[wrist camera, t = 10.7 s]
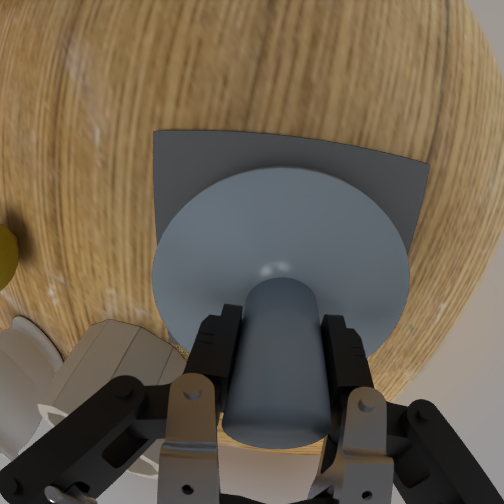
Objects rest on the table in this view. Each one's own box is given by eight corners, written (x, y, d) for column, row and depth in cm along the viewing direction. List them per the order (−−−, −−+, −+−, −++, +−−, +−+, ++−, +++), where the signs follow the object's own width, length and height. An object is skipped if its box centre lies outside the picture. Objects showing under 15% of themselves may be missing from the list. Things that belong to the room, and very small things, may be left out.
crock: (73, 309, 19) (15, 383, 11) (190, 336, 19) (149, 447, 11) (106, 384, 24) (73, 448, 16) (199, 409, 24) (179, 487, 16)
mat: (158, 130, 12) (153, 131, 12) (424, 162, 12) (430, 164, 11) (172, 336, 19) (170, 342, 18) (361, 356, 18) (362, 362, 18)
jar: (86, 379, 25) (34, 479, 11) (41, 369, 26) (-6, 445, 13) (35, 306, 20) (-47, 410, 7) (-1, 307, 22) (-64, 382, 9)
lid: (150, 158, 10) (25, 214, 4) (433, 192, 10) (541, 271, 4) (171, 360, 16) (136, 452, 10) (360, 379, 15) (376, 473, 9)
